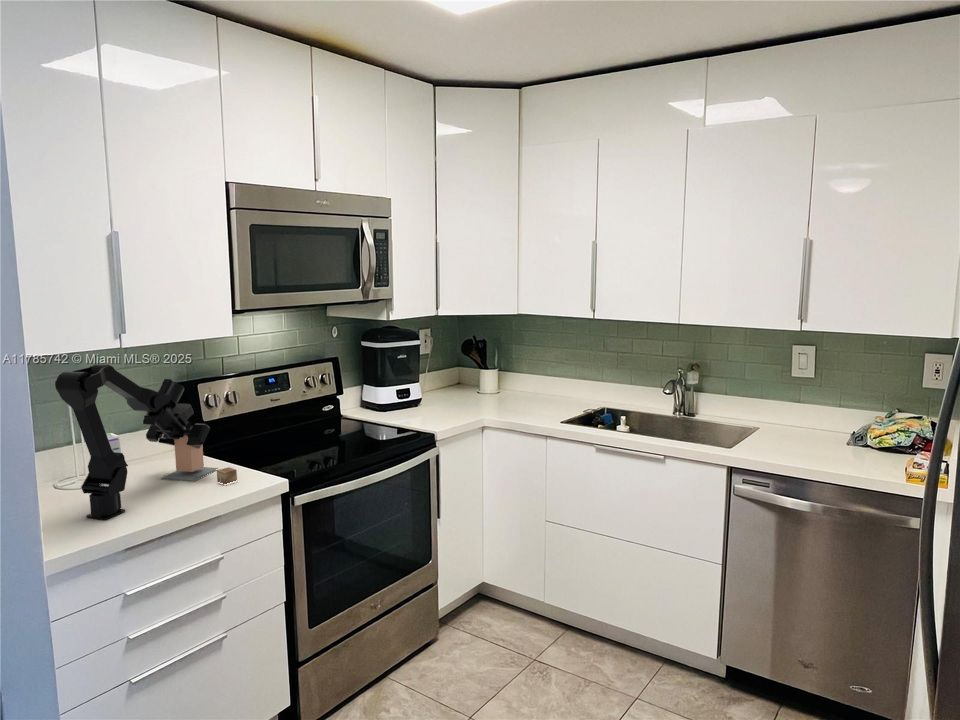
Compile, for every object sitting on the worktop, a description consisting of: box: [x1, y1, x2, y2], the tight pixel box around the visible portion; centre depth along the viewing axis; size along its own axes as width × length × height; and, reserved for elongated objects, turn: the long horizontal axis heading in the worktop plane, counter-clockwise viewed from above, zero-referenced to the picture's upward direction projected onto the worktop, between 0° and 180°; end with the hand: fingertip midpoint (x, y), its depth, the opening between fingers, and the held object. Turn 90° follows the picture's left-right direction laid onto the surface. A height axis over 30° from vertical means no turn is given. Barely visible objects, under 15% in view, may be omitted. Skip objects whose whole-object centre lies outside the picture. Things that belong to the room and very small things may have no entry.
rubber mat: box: [161, 466, 219, 482], centre depth 207 cm, size 12×11×1 cm
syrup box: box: [100, 432, 122, 486], centre depth 198 cm, size 6×6×14 cm
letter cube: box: [216, 466, 238, 484], centre depth 199 cm, size 4×4×4 cm
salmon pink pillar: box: [173, 435, 205, 472], centre depth 205 cm, size 6×6×12 cm
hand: (191, 446), depth 207 cm, fingers closed on salmon pink pillar, 5 cm apart
